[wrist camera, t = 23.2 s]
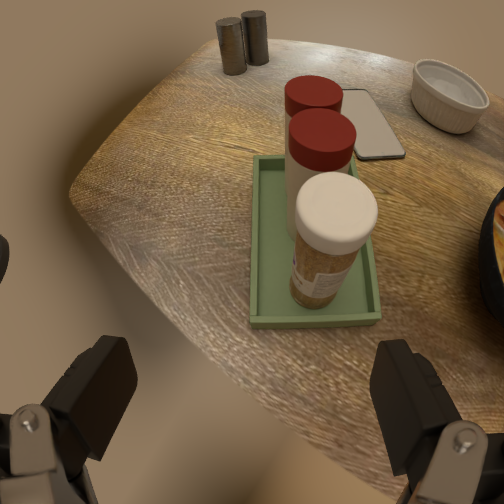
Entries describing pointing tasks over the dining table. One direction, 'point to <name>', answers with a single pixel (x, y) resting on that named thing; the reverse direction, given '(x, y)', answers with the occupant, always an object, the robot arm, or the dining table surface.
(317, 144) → the spice bottle
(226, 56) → the grey tin
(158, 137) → the dining table surface
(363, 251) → the tray
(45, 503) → the robot arm
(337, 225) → the sprinkles bottle
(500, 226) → the bowl
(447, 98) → the ramekin
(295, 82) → the spice bottle
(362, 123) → the smartphone
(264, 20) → the grey tin
